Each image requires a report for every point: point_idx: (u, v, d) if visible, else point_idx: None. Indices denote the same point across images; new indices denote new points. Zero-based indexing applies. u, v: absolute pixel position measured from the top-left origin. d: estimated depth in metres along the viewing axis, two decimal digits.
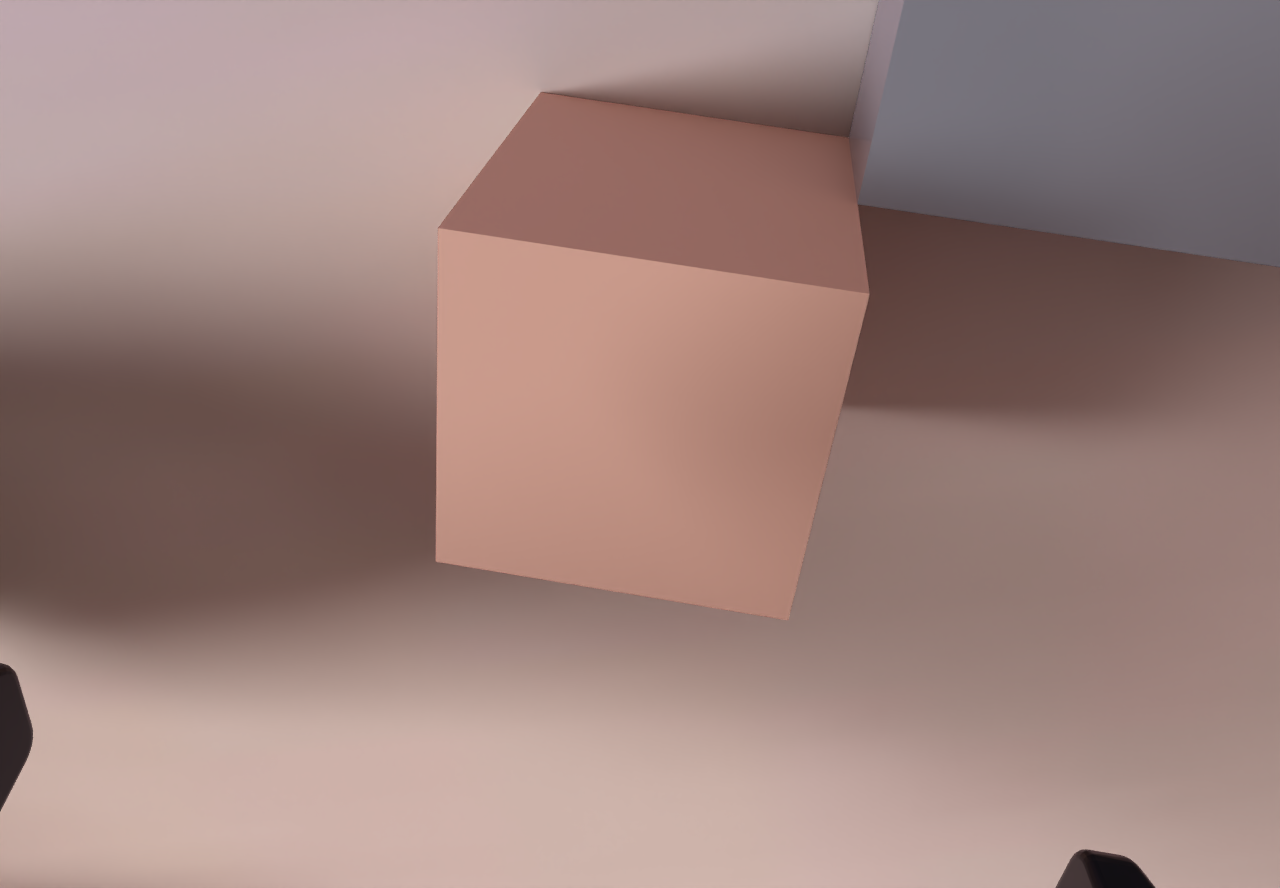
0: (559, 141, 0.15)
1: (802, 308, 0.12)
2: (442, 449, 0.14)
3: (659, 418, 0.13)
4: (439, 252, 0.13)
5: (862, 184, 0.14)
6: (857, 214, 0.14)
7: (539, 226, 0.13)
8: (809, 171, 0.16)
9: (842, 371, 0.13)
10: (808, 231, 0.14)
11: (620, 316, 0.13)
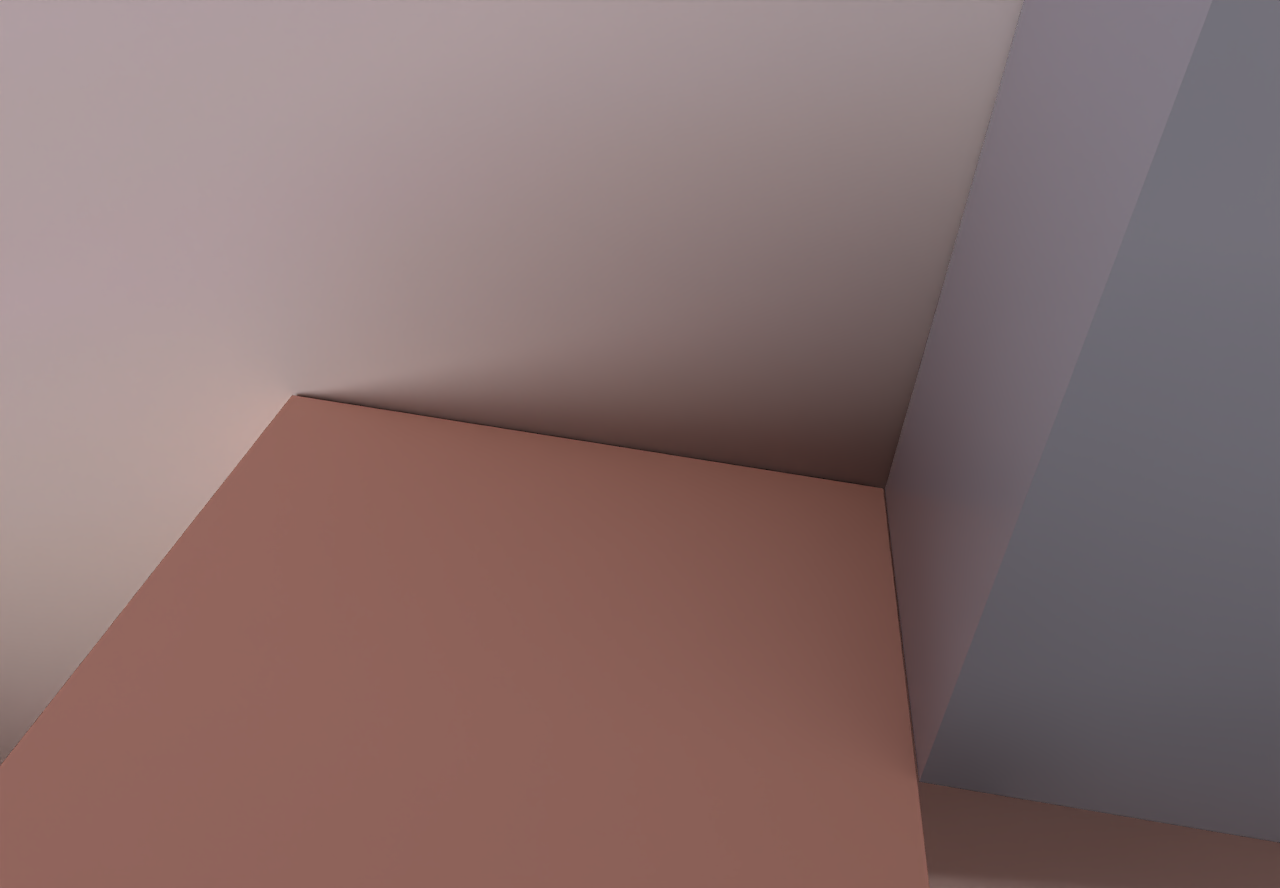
0: (259, 591, 0.07)
1: None
2: None
3: None
4: None
5: (932, 747, 0.06)
6: (920, 847, 0.06)
7: None
8: (806, 647, 0.07)
9: None
10: None
11: None
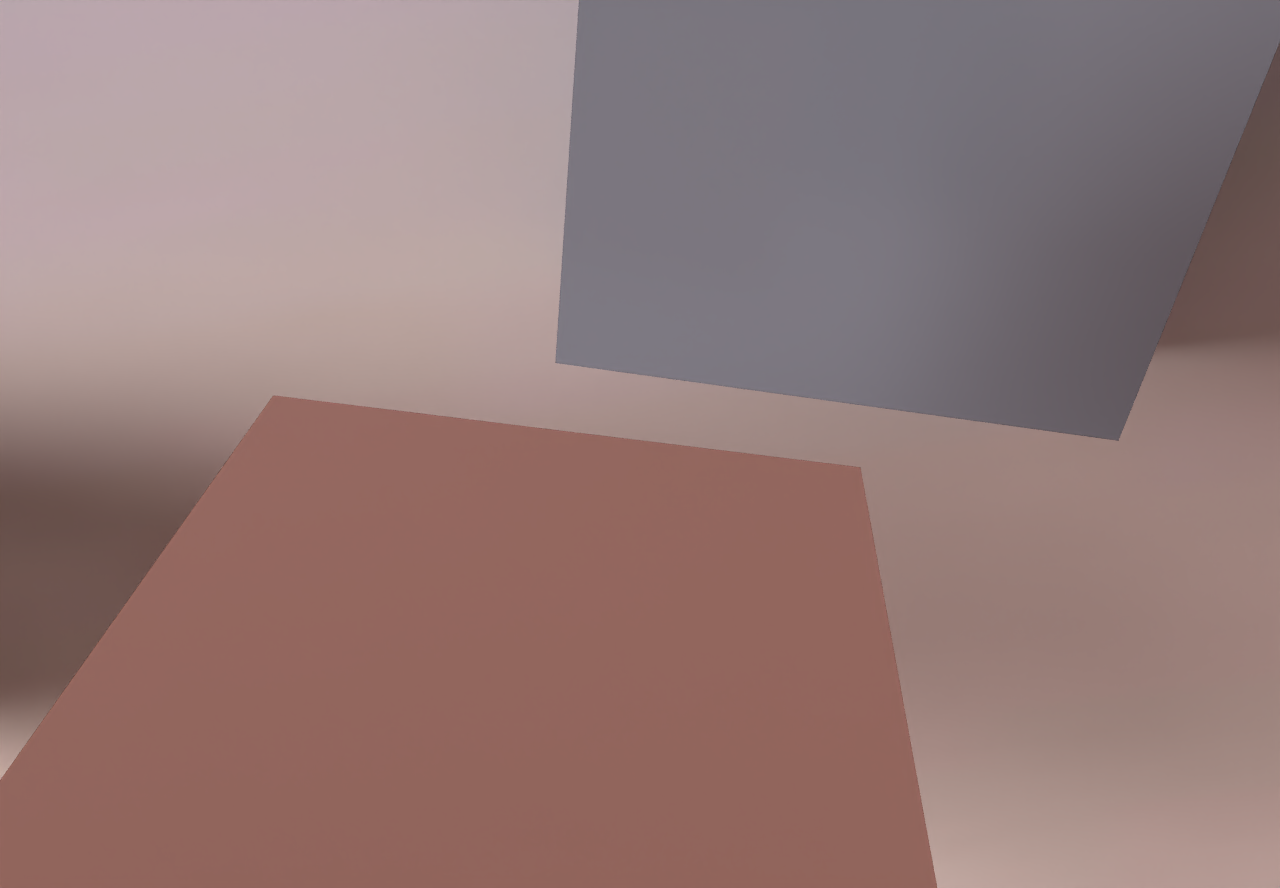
0: (255, 587, 0.07)
1: None
2: None
3: None
4: None
5: (557, 347, 0.17)
6: (918, 805, 0.06)
7: None
8: (796, 622, 0.07)
9: None
10: None
11: None
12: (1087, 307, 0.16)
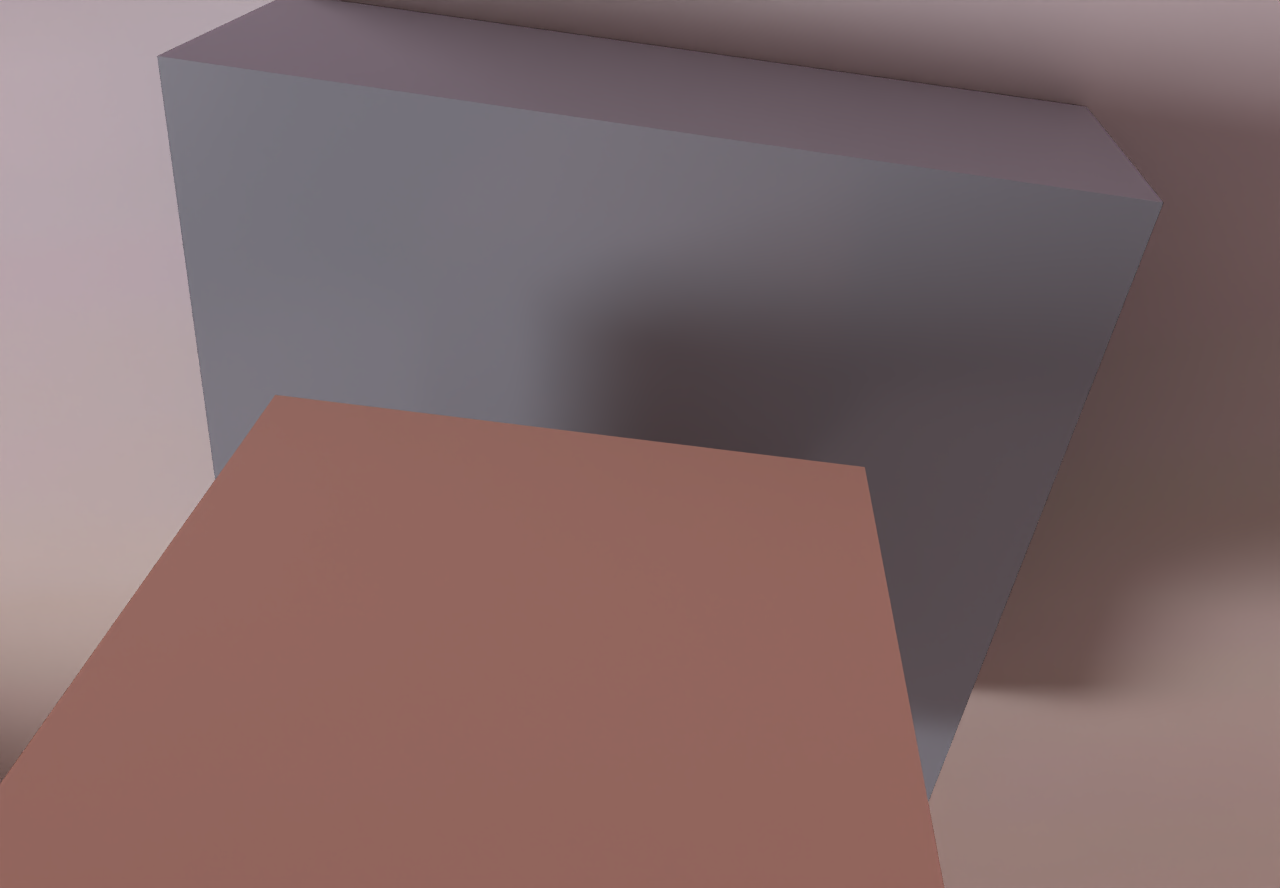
0: (258, 586, 0.07)
1: None
2: None
3: None
4: None
5: None
6: (925, 807, 0.06)
7: None
8: (801, 621, 0.07)
9: None
10: None
11: None
12: None
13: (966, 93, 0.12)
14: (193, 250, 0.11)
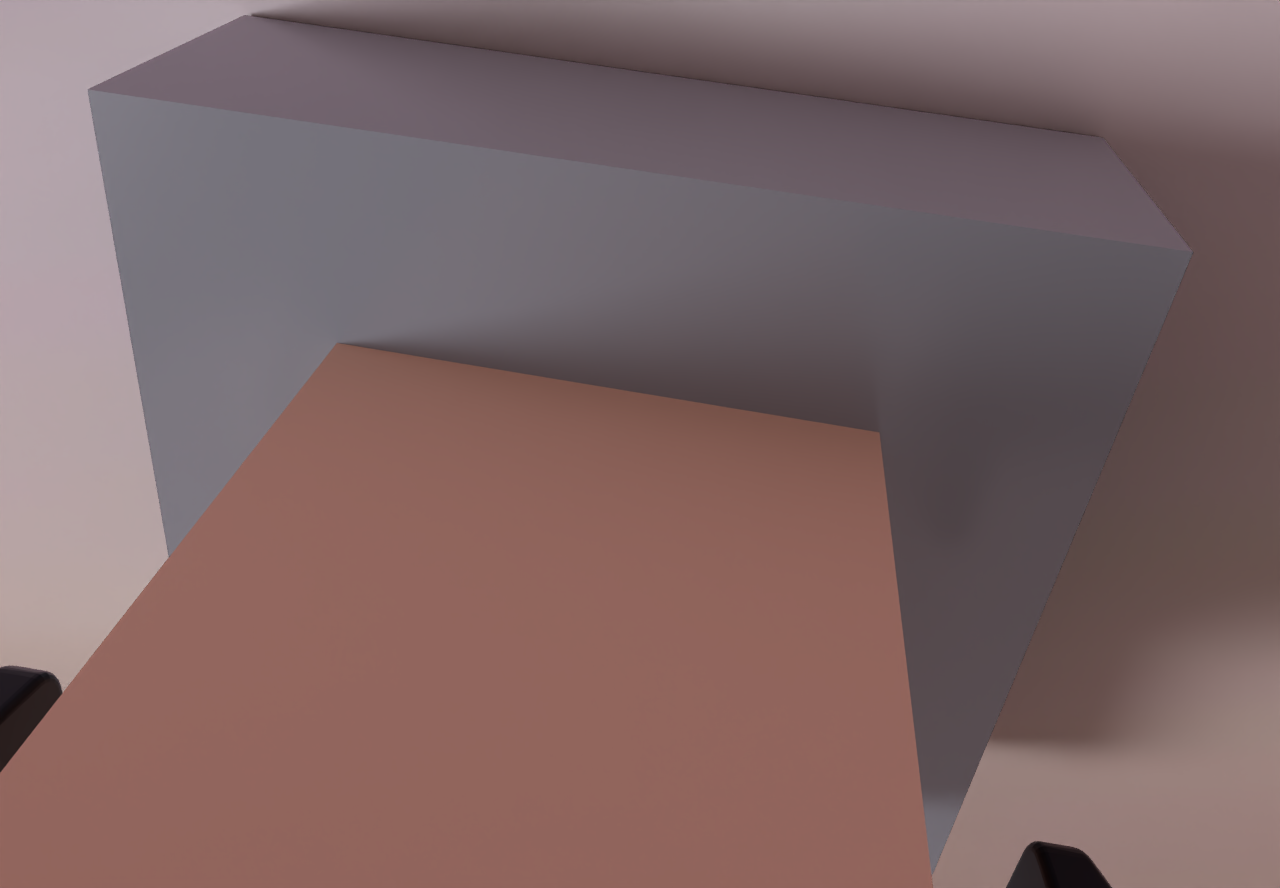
0: (319, 506, 0.08)
1: None
2: None
3: None
4: None
5: None
6: (910, 724, 0.07)
7: None
8: (809, 562, 0.08)
9: None
10: (808, 820, 0.06)
11: None
12: None
13: (973, 123, 0.11)
14: (134, 297, 0.10)
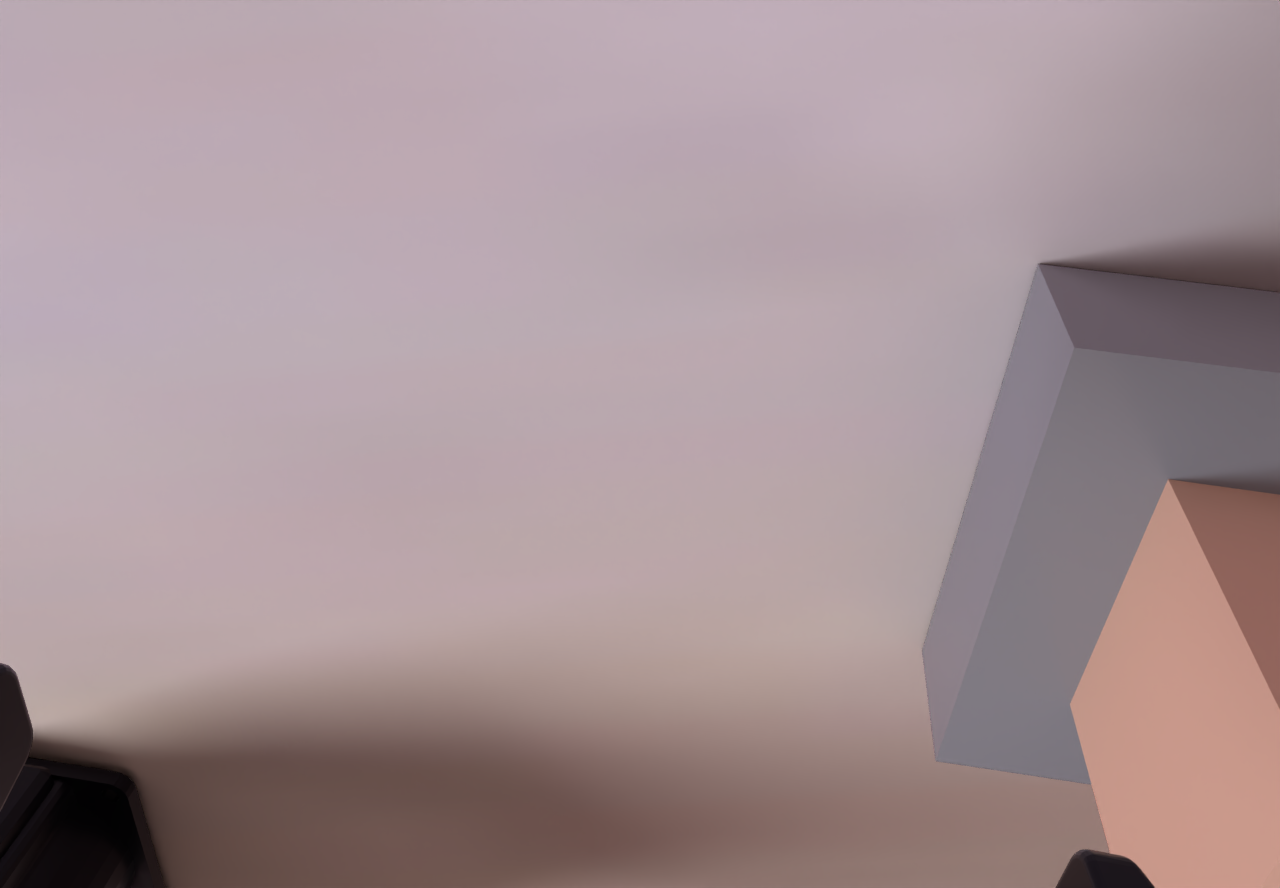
0: (1272, 585, 0.15)
1: None
2: None
3: None
4: None
5: (939, 750, 0.20)
6: None
7: None
8: None
9: None
10: None
11: None
12: None
13: None
14: (1045, 455, 0.17)
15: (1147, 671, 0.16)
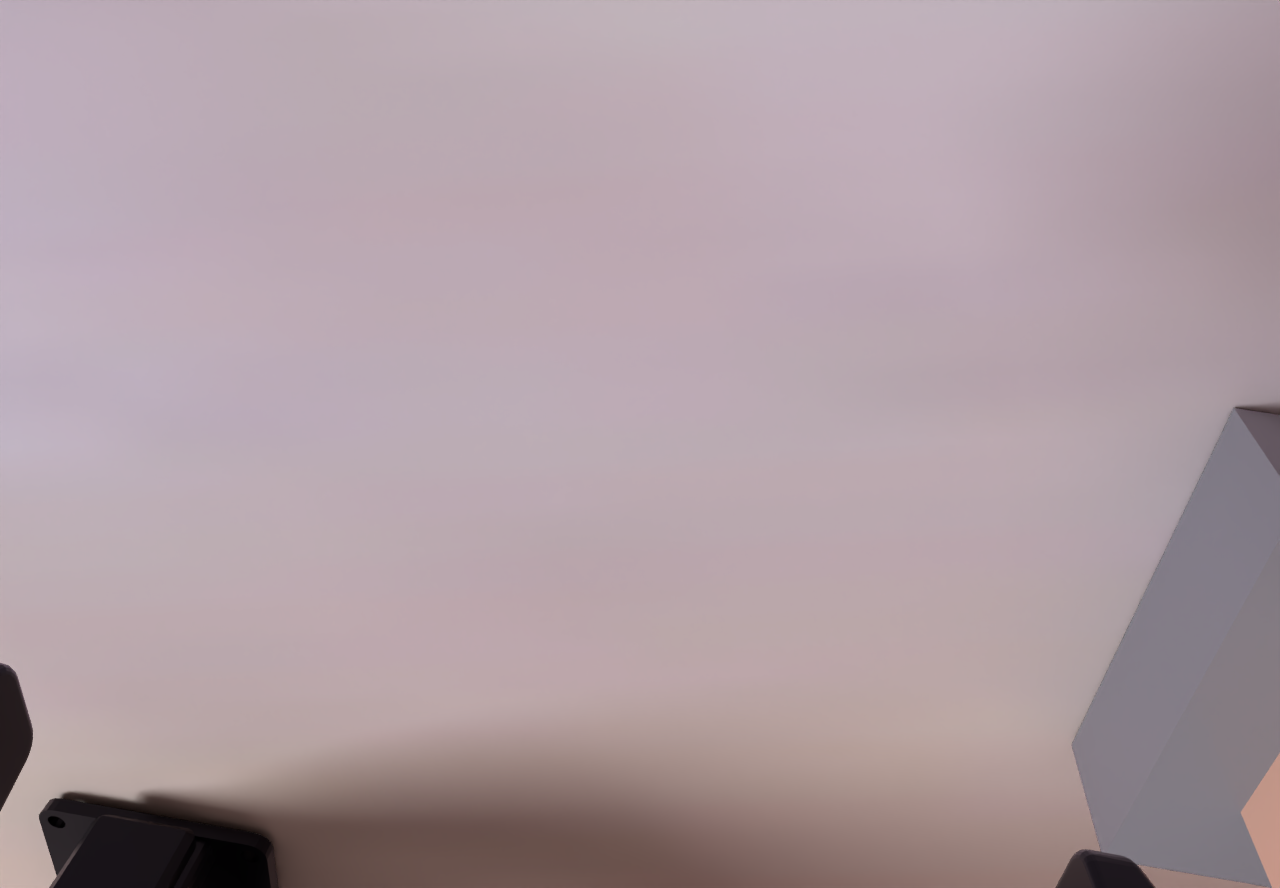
0: None
1: None
2: None
3: None
4: None
5: (1107, 849, 0.22)
6: None
7: None
8: None
9: None
10: None
11: None
12: None
13: None
14: (1255, 595, 0.18)
15: None
